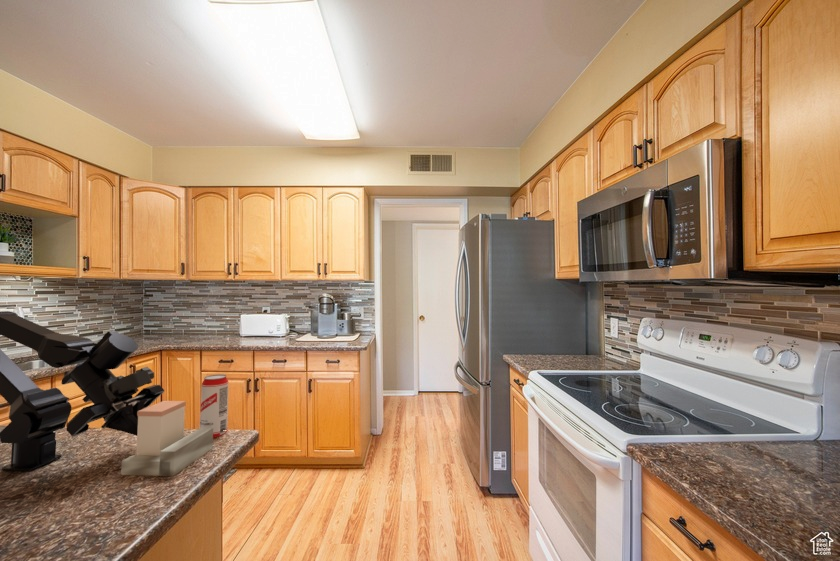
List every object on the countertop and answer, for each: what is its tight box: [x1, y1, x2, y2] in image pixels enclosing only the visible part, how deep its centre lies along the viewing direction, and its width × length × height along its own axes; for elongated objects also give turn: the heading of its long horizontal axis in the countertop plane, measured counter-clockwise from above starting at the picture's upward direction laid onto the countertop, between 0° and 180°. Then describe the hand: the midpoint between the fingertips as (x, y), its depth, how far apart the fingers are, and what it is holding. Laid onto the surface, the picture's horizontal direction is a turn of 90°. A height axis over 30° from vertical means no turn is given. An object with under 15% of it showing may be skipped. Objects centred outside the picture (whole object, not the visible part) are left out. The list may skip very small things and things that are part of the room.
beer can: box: [199, 373, 230, 438], centre depth 90 cm, size 6×6×16 cm
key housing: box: [120, 427, 214, 477], centre depth 75 cm, size 16×18×6 cm
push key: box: [136, 400, 187, 456], centre depth 75 cm, size 5×7×12 cm
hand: (145, 435), depth 75 cm, fingers closed
